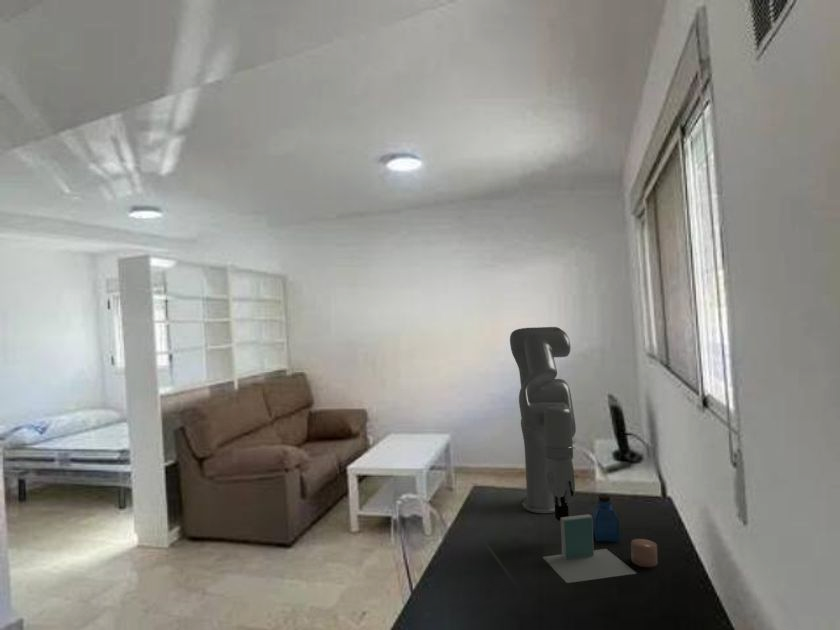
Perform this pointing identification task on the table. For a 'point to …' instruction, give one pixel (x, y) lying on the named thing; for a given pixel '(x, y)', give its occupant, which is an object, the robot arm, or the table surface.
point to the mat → (589, 566)
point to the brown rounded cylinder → (644, 552)
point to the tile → (577, 536)
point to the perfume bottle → (605, 520)
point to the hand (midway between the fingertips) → (562, 519)
